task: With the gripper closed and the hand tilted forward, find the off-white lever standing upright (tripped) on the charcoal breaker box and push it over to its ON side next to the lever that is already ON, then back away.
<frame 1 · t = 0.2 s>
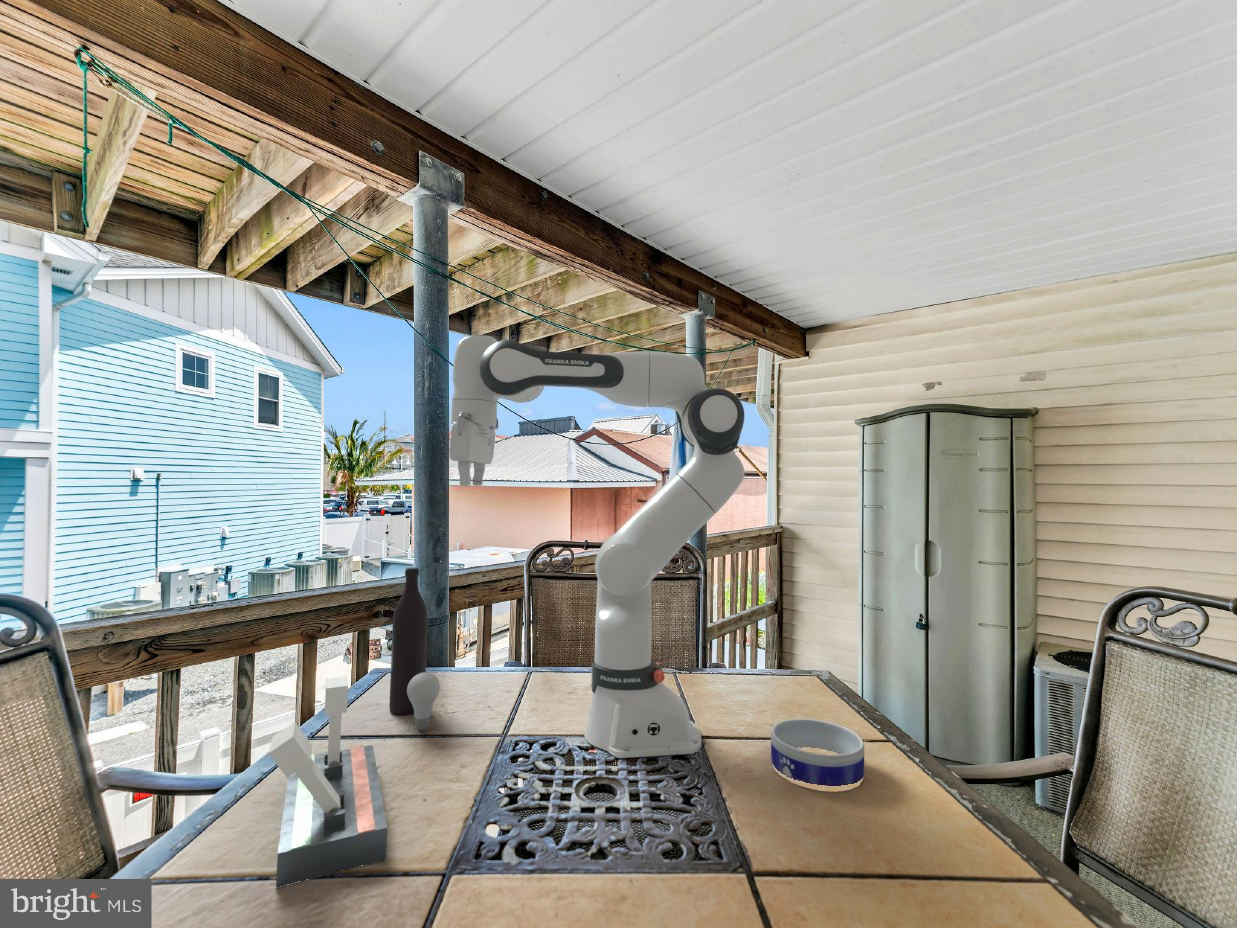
hand: (471, 485, 113), 48 cm above the table, tool pointing down, fingers open, 8 cm apart
tripped lever: (335, 723, 87), point 11 cm above the table, hinge at 0.0°
dog bowl: (816, 771, 98), on the table
wine bottle: (407, 710, 121), on the table
breaker box: (331, 794, 87), on the table
lightbulb: (422, 731, 111), on the table
on lever: (310, 774, 74), point 10 cm above the table, hinge at 32.0°
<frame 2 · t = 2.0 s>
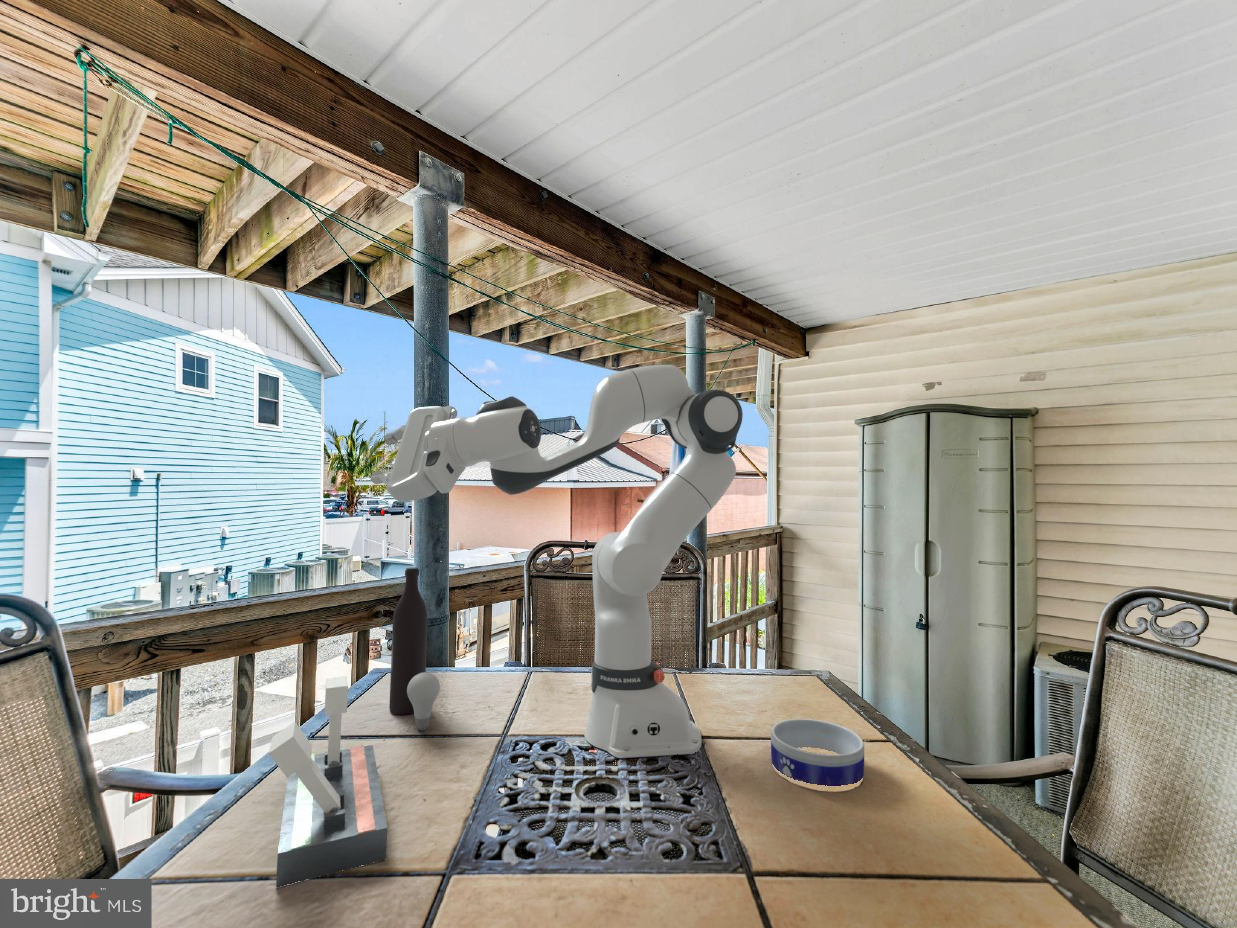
hand: (379, 458, 103), 53 cm above the table, tool horizontal, fingers open, 8 cm apart
nothing on the table moved.
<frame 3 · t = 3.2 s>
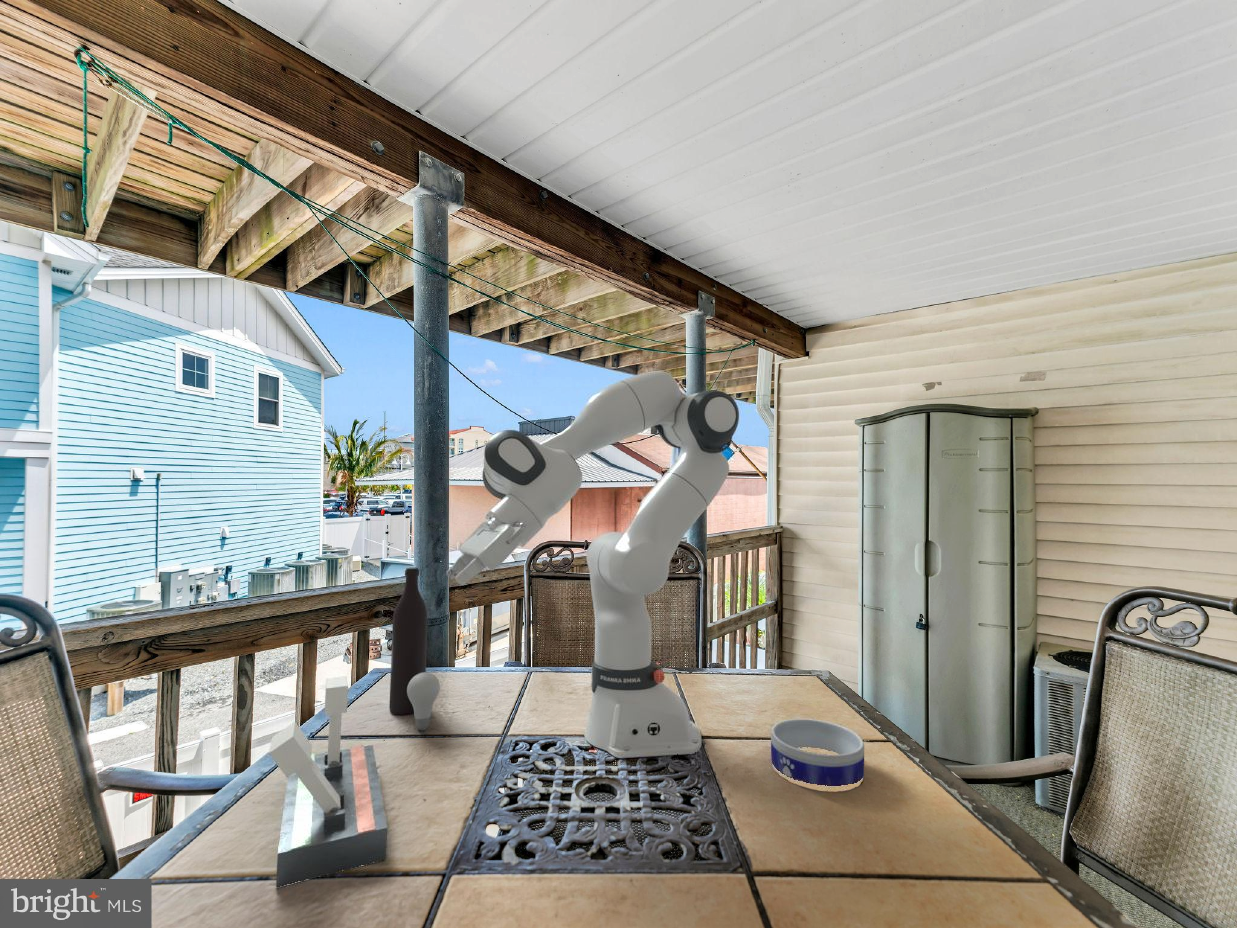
hand: (453, 579, 96), 32 cm above the table, tool tilted 45°, fingers open, 8 cm apart
nothing on the table moved.
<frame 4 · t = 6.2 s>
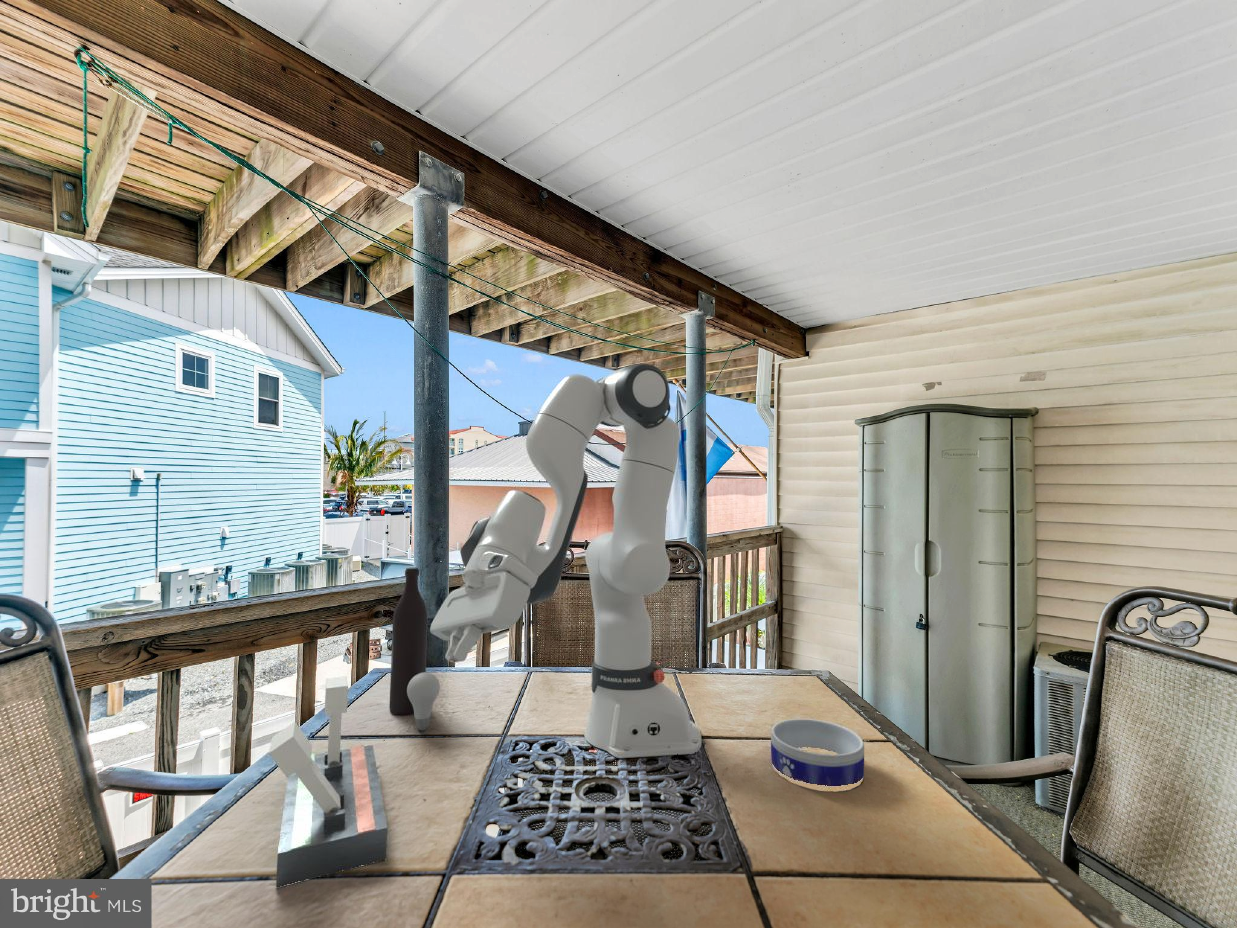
hand: (453, 660, 81), 23 cm above the table, tool tilted 40°, fingers closed
nothing on the table moved.
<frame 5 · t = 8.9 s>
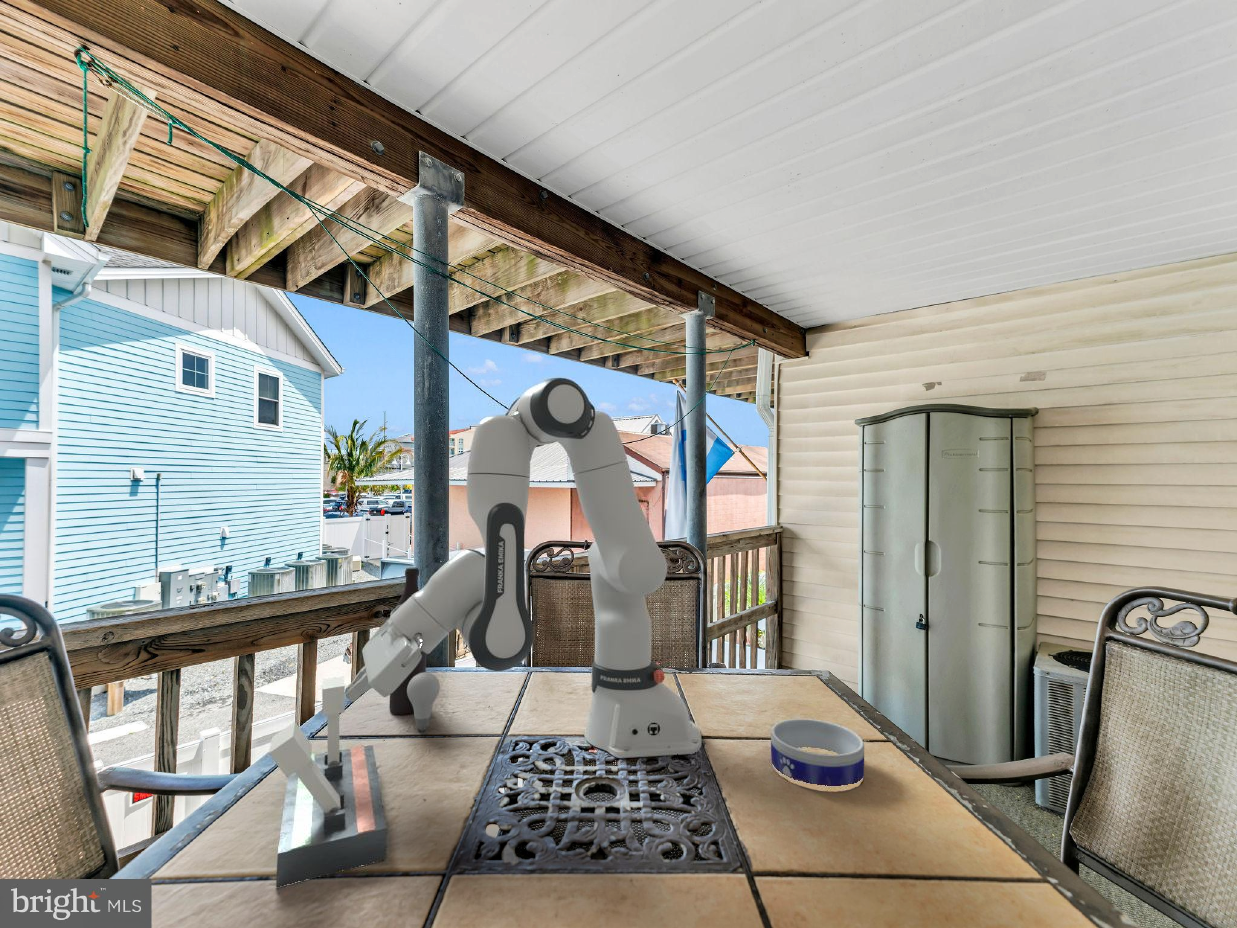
hand: (348, 696, 88), 15 cm above the table, tool tilted 45°, fingers closed, pressing on tripped lever
tripped lever: (333, 723, 87), point 11 cm above the table, hinge at 2.4°, touching gripper
everything else where it was.
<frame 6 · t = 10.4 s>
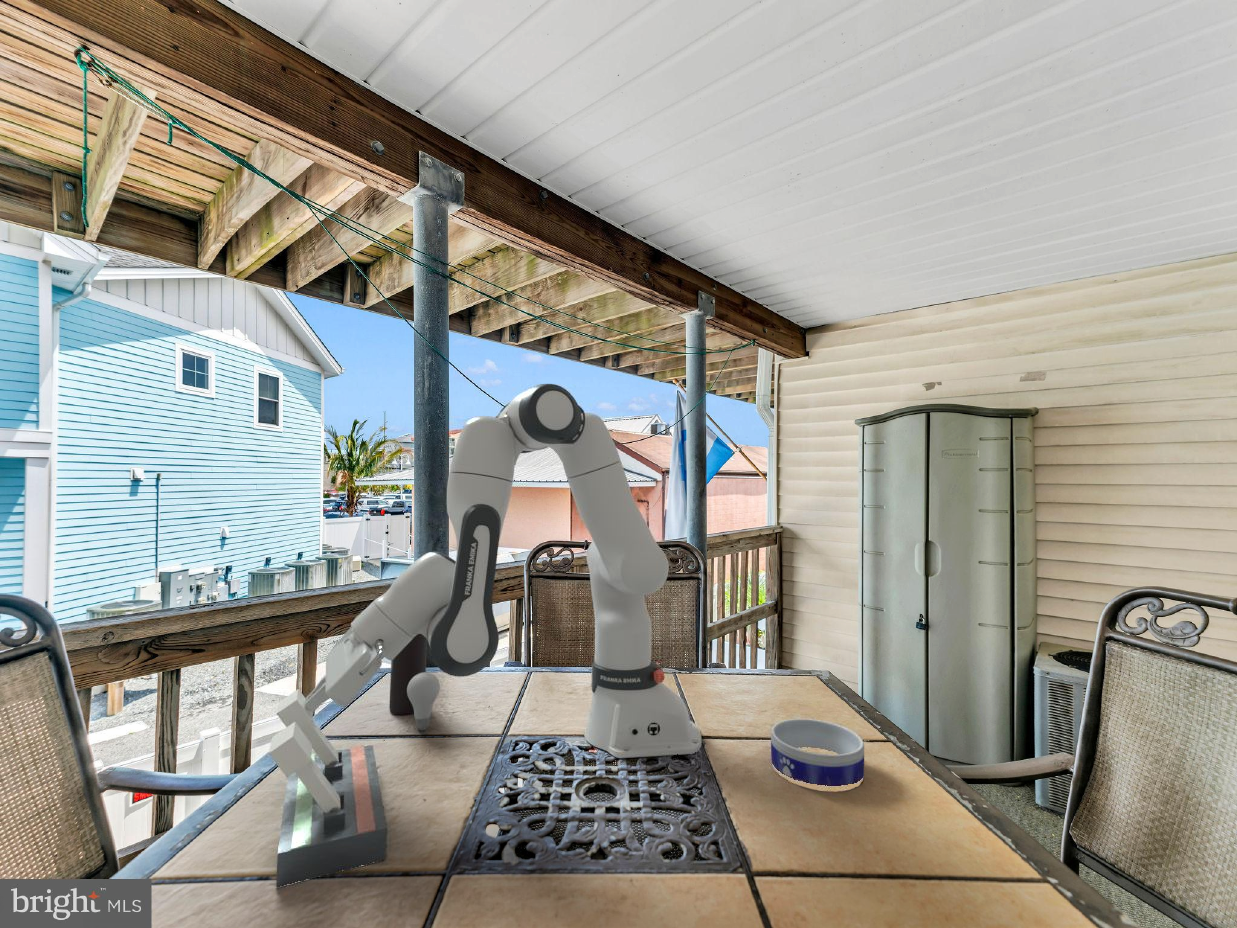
hand: (308, 706, 86), 14 cm above the table, tool tilted 45°, fingers closed, pressing on tripped lever
tripped lever: (312, 733, 86), point 10 cm above the table, hinge at 32.9°, touching gripper
everything else where it was.
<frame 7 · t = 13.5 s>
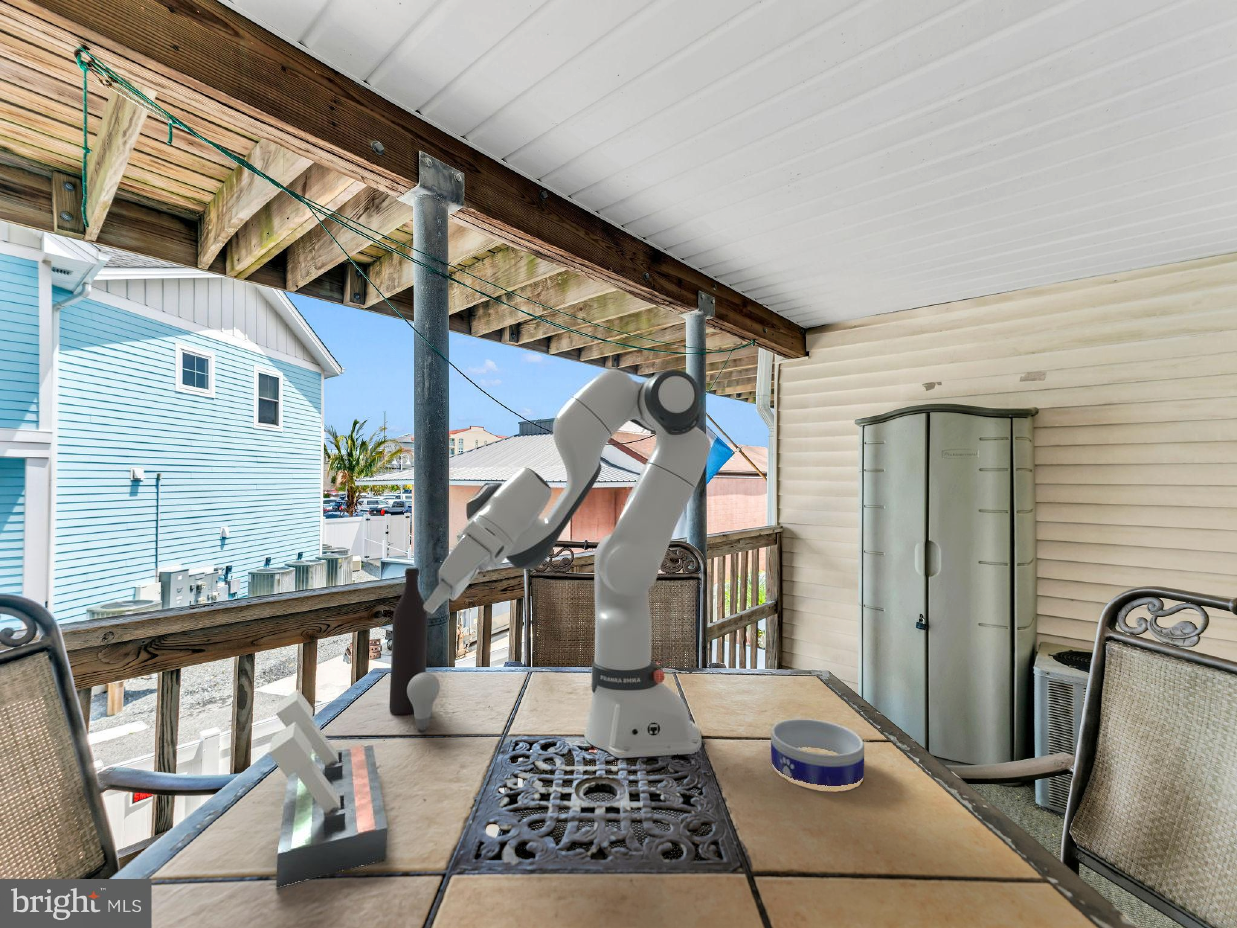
hand: (426, 611, 91), 28 cm above the table, tool tilted 40°, fingers closed
tripped lever: (312, 733, 86), point 10 cm above the table, hinge at 33.1°
everything else where it was.
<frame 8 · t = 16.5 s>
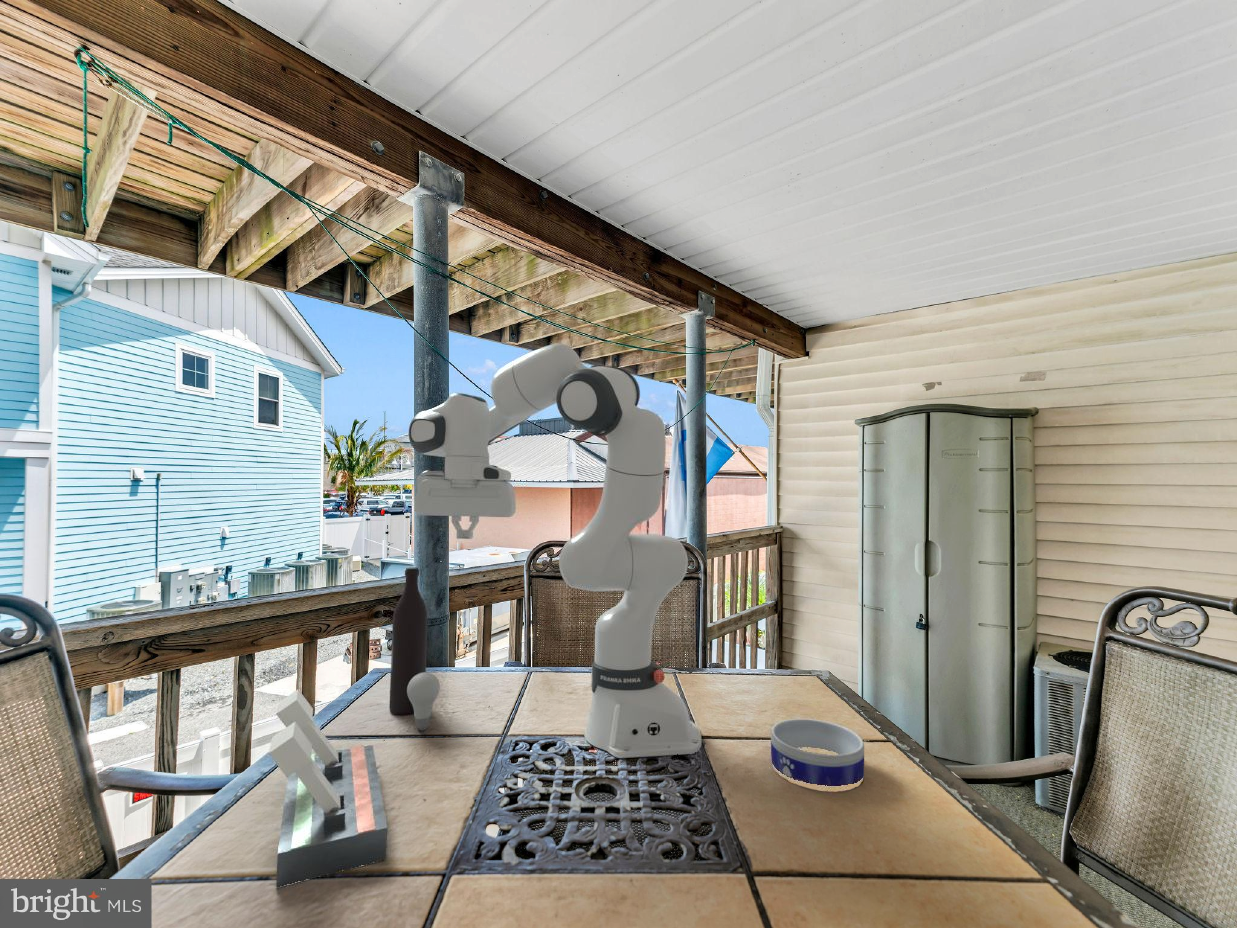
hand: (464, 538, 116), 37 cm above the table, tool pointing down, fingers closed
nothing on the table moved.
at the end: tripped lever at +33° (first picture: +0°); on lever at +32° (first picture: +32°) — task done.
